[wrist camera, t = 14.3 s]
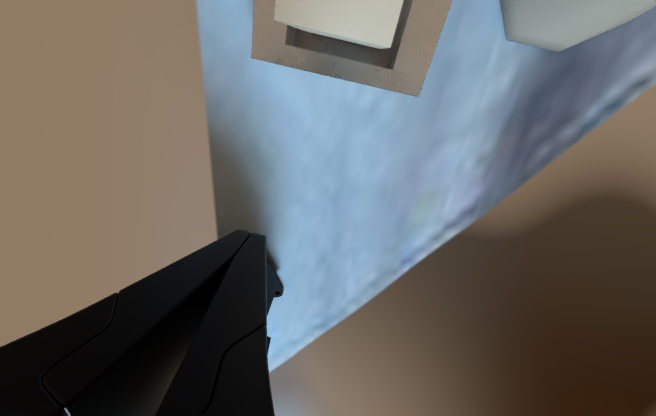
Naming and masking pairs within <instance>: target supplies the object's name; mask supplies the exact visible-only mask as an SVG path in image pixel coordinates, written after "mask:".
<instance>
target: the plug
mask: <svg viewBox="0 0 656 416" xmlns="http://www.w3.org/2000/svg"><path fill="white" fill-rule="evenodd" d="M403 1H404V0H276V1H275V14H274V20H275V21H278V22H281V23H284V24H287V25H290V26H292V27H295V28H298V29H301V30H304V31H306V32H309V33H314V34H318V35H322V36H326V37H330V38H335V39H339V40H343V41H347V42H352V43H356V44H360V45H364V46H368V47H373V48H377V49H384V48H391V44H392V41H393V37H394V34H395V30H396V26H397V23H398V19H399V15H400V12H401V8H402V5H403Z"/></svg>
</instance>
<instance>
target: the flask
mask: <svg viewBox="0 0 656 416" xmlns="http://www.w3.org/2000/svg"><path fill="white" fill-rule="evenodd" d="M500 2H501V8H502V15H503V21H504V28H505V34H506V40H509V41H513V42H517V43H521V44H526V45H530V46H534V47H539V48H543V49H547V50H551V51H556V52H560V51H562V50H564V49H567V48H569V47H571V46H574V45H576V44H578V43H581V42H583V41H585V40H587V39H590V38H592V37H594V36H597V35H599V34H601V33H604V32H606V31H608V30H611V29H613V28H615V27H618V26H620V25H622V24H624V23H626V22H628V21H630V20H632V19H634V18H635V17H637V16H639V15H641V14H642V13H644V12H646V11H647V10H649V9H651V8H653V7H654V6H656V0H500Z"/></svg>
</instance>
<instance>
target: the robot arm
mask: <svg viewBox="0 0 656 416" xmlns="http://www.w3.org/2000/svg"><path fill="white" fill-rule="evenodd" d="M278 291H279V292H278ZM283 291H284V290H283V288H282V286H281V284H280V282H279V279H278V277H277V275H276V274H275V272H274V270H273V268H272V266H271V264H270V263H269V261H268V260H267V259H266V236H265V235H262V234H257V233H251V232H249V231H244V230H236V231H234V232H232V233H230V234H228V235H226V236H224V237H222V238H221V239H219V240H217V241H215V242H213V243H211V244H209V245H207V246H205V247H203V248H201V249H199V250H197V251H195V252H193V253H192V254H190V255H188V256H186V257H184V258H182V259H180V260H178V261H176V262H174V263H172V264H170V265H168V266H166V267H165V268H162V269H161V270H159V271H157V272H155V273H153V274H151V275H149V276H147V277H145V278H143V279H141V280H139V281H137V282H135V283H133V284H132V285H130V286H128V287H126V288H124V289H122V290H120V291H119V294H118V293H114V294H112V295H110V296H108V297H106V298H104V299H102V300H101V301H99V302H96V303H94V304H92V305H90V306H88V307H87V308H84V309H82V310H80V311H78V312H76V313H74V314H72V315H70V316H68V317H66V318H64V319H62V320H59V321H57V322H55V323H53V324H51V325H49V326H46V327H44V328H42V329H40V330H37V331H35V332H33V333H31V334H29V335H26V336H24V337H22V338H19V339H17V340H15V341H13V342H11V343H8V344H6V345H4V346H1V347H0V416H275V414H274V407H273V401H272V394H271V387H270V378H269V370H268V357H267V354H268V349H269V344H270V339H271V338H270V337H268V336H267V328H266V326H267V315H268V312H269V309H270V306H271V303H272V301H273V298H274V297H280V296H282V294H283Z"/></svg>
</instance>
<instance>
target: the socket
mask: <svg viewBox="0 0 656 416" xmlns="http://www.w3.org/2000/svg"><path fill="white" fill-rule="evenodd" d="M275 1H276V0H254V13H253V34H252V54H251V58H253V59H257V60H262V61H266V62H270V63H275V64H279V65H283V66H287V67H292V68H296V69H300V70H304V71H309V72H313V73H317V74H322V75H326V76H330V77H334V78H339V79H343V80H347V81H352V82H356V83H360V84H364V85H369V86H373V87H377V88H381V89H386V90H390V91H394V92H399V93H403V94H407V95H411V96H416V97H419V94H420V92H421V89H422V86H423V83H424V80H425V77H426V74H427V72H428V69H429V66H430V63H431V60H432V57H433V54H434V51H435V49H436V46H437V43H438V40H439V37H440V34H441V31H442V29H443V26H444V23H445V20H446V17H447V14H448V11H449V9H450V6H451V3H452V0H404V1H403V5H402V8H401V12H400V15H399V19H398V23H397V26H396V30H395V34H394V37H393V41H392V44H391V48H384V49H377V48H373V47H368V46H364V45H360V44H356V43H352V42H347V41H343V40H339V39H335V38H330V37H326V36H322V35H318V34H314V33H309V32H306V31H304V30H301V29H298V28H295V27H292V26H290V25H287V24H284V23H281V22H278V21H275V20H274V14H275Z"/></svg>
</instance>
